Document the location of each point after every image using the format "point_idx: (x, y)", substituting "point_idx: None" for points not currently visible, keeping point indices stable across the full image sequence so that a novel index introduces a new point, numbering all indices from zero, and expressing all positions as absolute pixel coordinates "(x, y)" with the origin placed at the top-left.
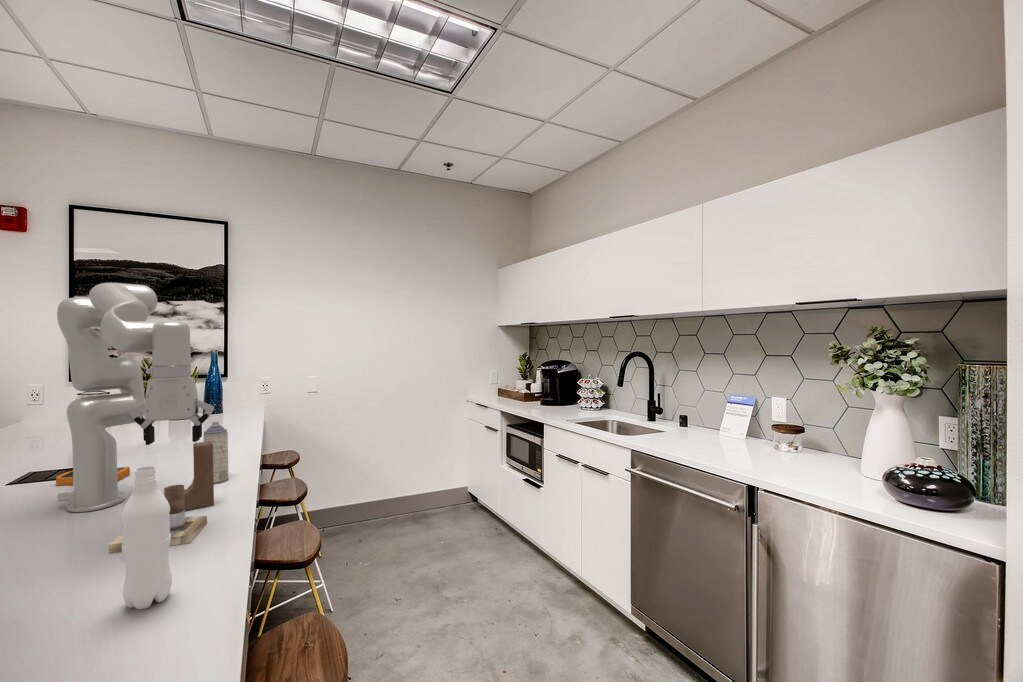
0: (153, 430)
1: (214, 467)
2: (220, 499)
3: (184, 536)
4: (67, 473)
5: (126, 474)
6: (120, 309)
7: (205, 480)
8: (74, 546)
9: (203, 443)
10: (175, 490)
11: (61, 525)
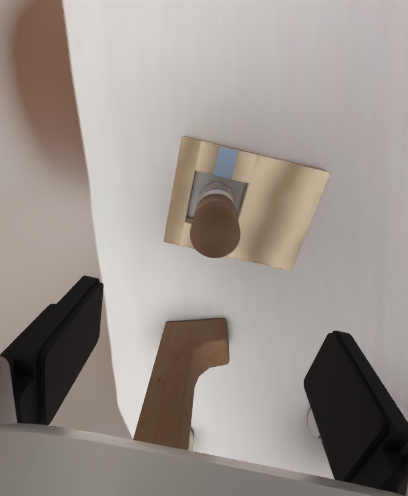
0: (333, 446)
1: None
2: (158, 346)
3: (193, 139)
4: None
5: None
6: None
7: (169, 361)
8: (375, 241)
9: None
10: (209, 209)
11: (392, 351)
